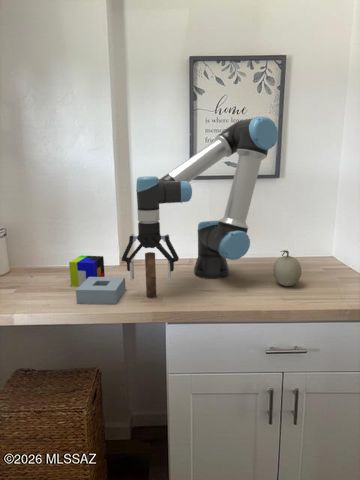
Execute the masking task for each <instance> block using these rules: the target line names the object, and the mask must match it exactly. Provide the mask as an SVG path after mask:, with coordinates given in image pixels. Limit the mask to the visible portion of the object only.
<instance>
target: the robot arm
mask: <svg viewBox="0 0 360 480" xmlns="http://www.w3.org/2000/svg"><path fill="white" fill-rule="evenodd" d="M278 139H279V131H278V127H277V125H276V123H275V121H274V120H273V119H271V118H270V117H267V116H256V117H255V116H254V117H253V118H248V119H242V120H241V119H240V120H239V121H236V122H234V123H233V124H231V125H229V127H227V128H226V129H225V130H223V131H222V132H220V133H219V134H217V135H216V136H215V137H214V140H213V142H210V143H209V144H208V145H207V146H205V147H204V148H202V149H201V150H199V151H198V152H196V153H195V154H194V155H191V157H189V158H188V159H186V160H185V161H183V162H182V163H181V164H180V165H178V166H177V167H175V168H174V169H172V170H171V171H170V172H168V173H167V174H165V175H164V176H162V177H160V178H159V177H158V176H155V175H154V176H149V175H148V176H145V175H144V176H139V177H137V179H136V189H135V191H136V201H137V221H138V223H137V229H138V231H137V233H138V235H135V234H131V235H130V236H129V240H128V244H127V246H126V248H125V251H124V252H123V255H122V257H121V261H122V262H125V263H126V270H127V271H128V272H129V275H130V281H134V279H135V271H134V269H135V266H134V264H135V263H134V260H133V259H134V257H135V256H136V255H137V254H138V253H139V251H140V250H141V249H142V248H144V249H155V248H156V249H157V250H158V251H159V252H160V253H161V254H162V255H163V256H164V258H165V259H166V260H167V281H168V282H170V281H171V280H172V272H174V270H175V265H174V264H175V262H178V261H179V258H180V257H179V255H178V253H177V252H176V249H175V247H174V245H173V243H172V241H171V240H170V235H169V234H166V235H161V226H160V225H161V223H160V217H161V216H160V204H161V205H162V204H175V203H176V204H177V203H181V204H182V203H187V202H189V201H191V199H192V197H193V187H192V185H191V181H193V180H195V178H197V177H199V176H200V175H201V174H203V173H204V172H205V171H207V170H208V169H209V168H211V167H213V166H214V165H215V164H217V163H219V162H220V161H221V160H222V159H224V158H225V157H226V158H229V157H231V156H232V155H234V154H237V155H238V160H237V163H236V166H235V171H234V175H233V179H232V184H231V187H230V192H229V194H228V199H227V203H226V207H225V210H224V214H223V217H222V218H221V219H219V220H206V221H205V220H204V221H201V222H198V225H197V258H196V261H195V265H194V268H193V274H194V275H195V276H197V277H198V278H202V279H208V280H209V279H211V280H213V279H222V278H225V277H228V276H229V275H230V268H229V264H228V260H231V261H236V260H239V259H241V258H242V257H245V255H247V252H248V251H249V250H250V246H251V239H250V237H249V235H248V234H247V233H248V230H249V227H248V224H247V223H246V222H247V220H248V219H247V218H248V215H249V210H250V206H251V203H252V199H253V196H254V191H255V186H256V183H257V180H258V175H259V172H260V168H261V164H262V161H263V160H265V159H266V158H267V156H268V153H269V150H271V149H272V148H273V147H275V146H276V144H277V141H278ZM136 240H137V241H138V242H139V245H138V246H137V247H136V249H135V250H133V252H132V254H131V255H130V256H129V253H130V251H131V248H132V247H133V244H134V242H136ZM161 240H162V241H163V242H165V245H166V246H167V248H168V251H169V252H170V253H169V252H168V251H167V250H166V249H165V247H164V246H163V245H162V243H160V242H161ZM128 256H129V257H128ZM227 259H228V260H227Z"/></svg>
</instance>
